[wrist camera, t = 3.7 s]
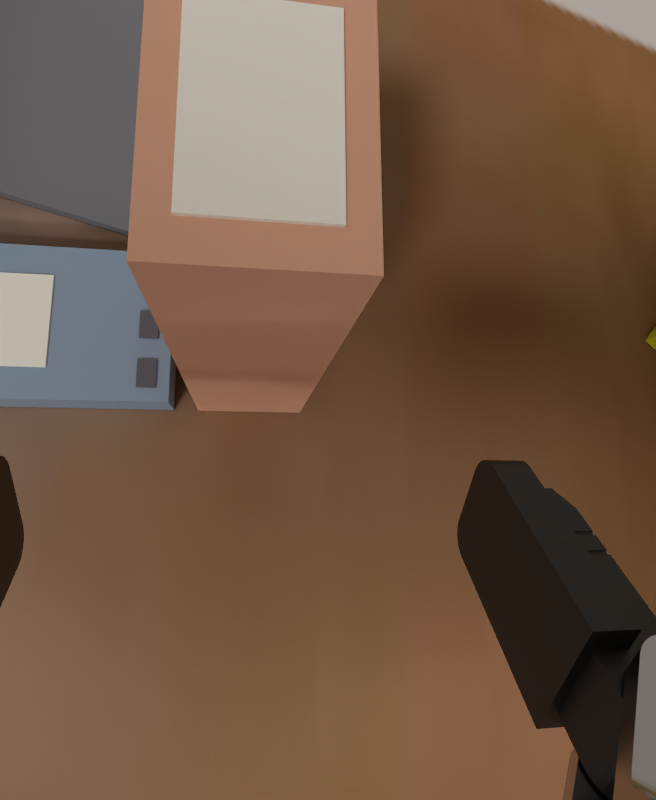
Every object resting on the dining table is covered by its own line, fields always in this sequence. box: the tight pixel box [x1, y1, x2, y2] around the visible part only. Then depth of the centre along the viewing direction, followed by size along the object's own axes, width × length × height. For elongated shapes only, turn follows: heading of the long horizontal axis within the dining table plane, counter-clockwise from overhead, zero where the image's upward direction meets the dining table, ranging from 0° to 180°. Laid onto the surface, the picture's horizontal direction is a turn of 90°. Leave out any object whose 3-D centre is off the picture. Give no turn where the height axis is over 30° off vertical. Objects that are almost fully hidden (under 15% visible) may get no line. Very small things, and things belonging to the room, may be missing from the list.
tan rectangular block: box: [127, 0, 384, 413], centre depth 14 cm, size 4×5×12 cm
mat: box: [0, 0, 144, 236], centre depth 20 cm, size 12×12×1 cm
